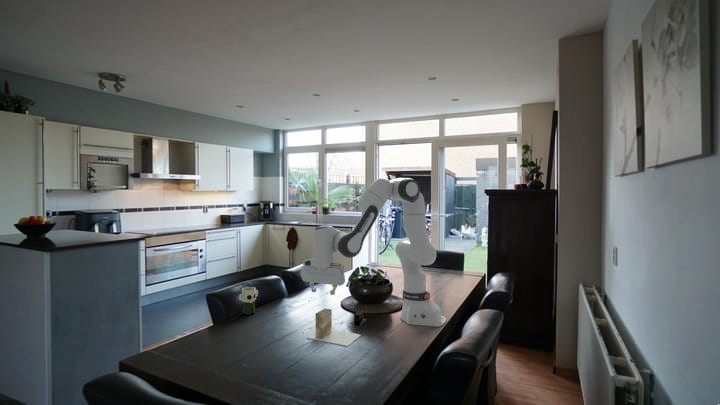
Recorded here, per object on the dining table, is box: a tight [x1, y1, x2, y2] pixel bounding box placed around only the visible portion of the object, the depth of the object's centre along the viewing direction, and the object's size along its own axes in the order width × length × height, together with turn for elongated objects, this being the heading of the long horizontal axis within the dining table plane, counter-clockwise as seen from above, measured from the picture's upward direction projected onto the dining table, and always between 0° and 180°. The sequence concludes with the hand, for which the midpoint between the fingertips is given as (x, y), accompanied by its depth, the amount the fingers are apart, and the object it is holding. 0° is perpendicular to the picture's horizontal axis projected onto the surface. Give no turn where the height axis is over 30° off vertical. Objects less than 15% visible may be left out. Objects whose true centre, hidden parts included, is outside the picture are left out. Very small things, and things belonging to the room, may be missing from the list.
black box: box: [349, 311, 368, 327], centre depth 183 cm, size 12×7×5 cm, turn 158°
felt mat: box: [306, 329, 362, 347], centre depth 163 cm, size 20×13×1 cm, turn 65°
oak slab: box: [314, 308, 333, 338], centre depth 165 cm, size 4×8×10 cm, turn 155°
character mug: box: [238, 286, 259, 315], centre depth 194 cm, size 11×7×13 cm, turn 140°
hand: (323, 293), depth 164 cm, fingers open, 8 cm apart
